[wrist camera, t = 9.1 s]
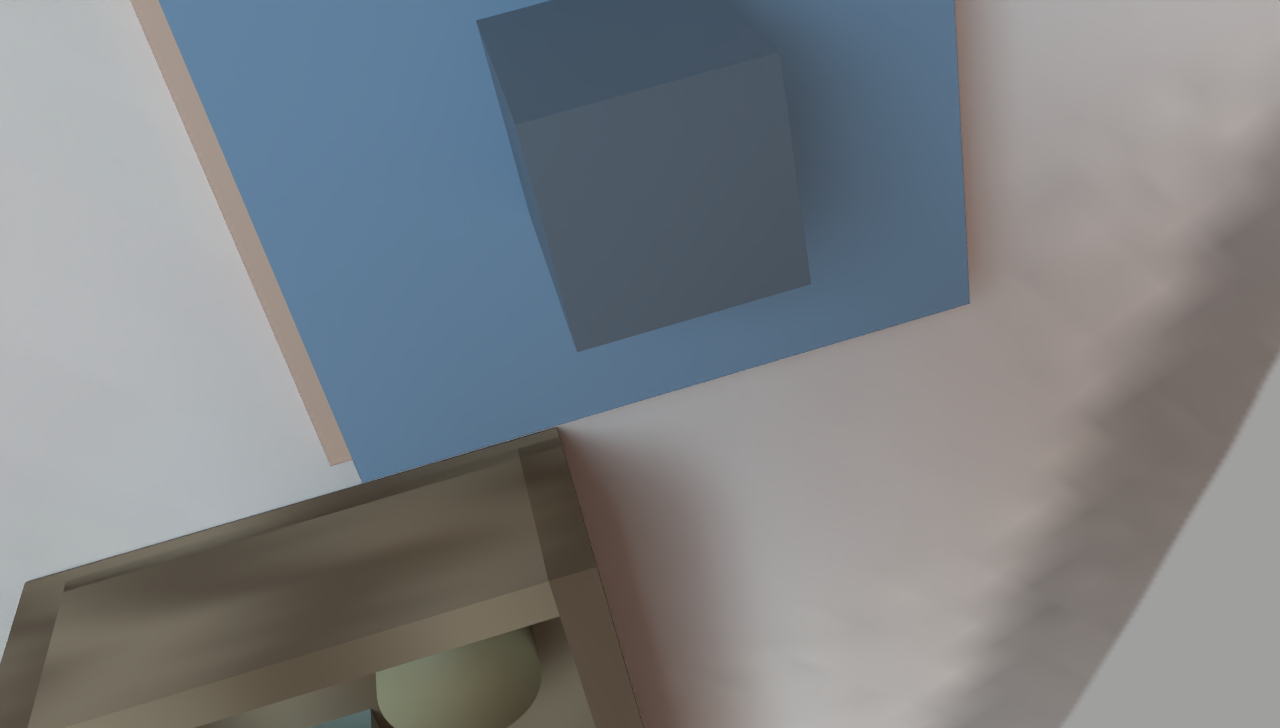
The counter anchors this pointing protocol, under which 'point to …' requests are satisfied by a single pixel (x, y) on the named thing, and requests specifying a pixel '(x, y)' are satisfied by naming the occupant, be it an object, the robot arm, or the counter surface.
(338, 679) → the box
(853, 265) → the lid
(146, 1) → the mat
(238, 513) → the counter surface
